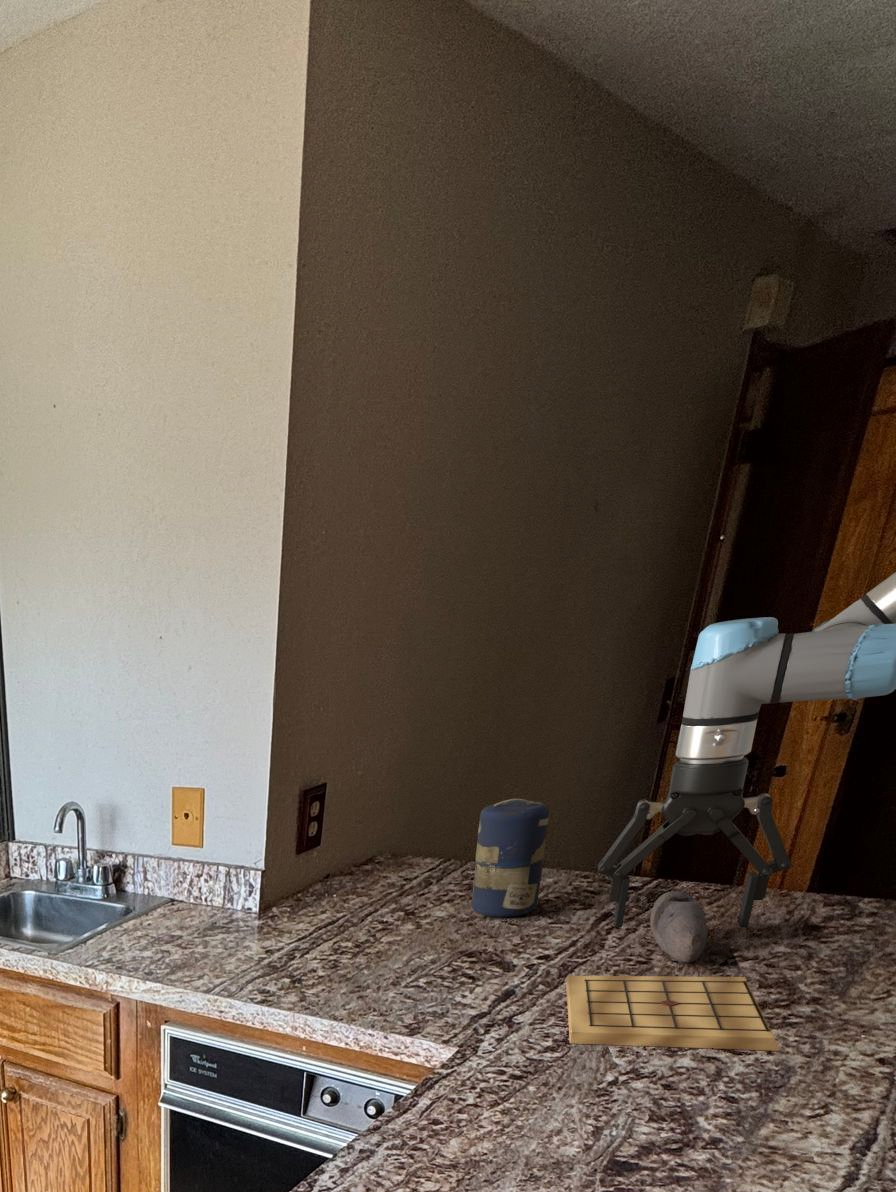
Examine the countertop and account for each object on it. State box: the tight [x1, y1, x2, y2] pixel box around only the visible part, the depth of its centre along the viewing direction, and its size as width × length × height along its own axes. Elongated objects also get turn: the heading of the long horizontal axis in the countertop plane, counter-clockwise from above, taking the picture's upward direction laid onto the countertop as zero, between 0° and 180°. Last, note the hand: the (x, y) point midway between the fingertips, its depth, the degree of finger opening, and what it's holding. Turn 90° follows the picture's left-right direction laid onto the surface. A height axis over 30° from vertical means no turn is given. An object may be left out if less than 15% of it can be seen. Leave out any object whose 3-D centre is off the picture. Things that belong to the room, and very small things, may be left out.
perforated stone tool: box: [649, 890, 708, 964], centre depth 133 cm, size 15×5×7 cm, turn 156°
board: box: [565, 975, 782, 1052], centre depth 117 cm, size 20×20×2 cm
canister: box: [471, 797, 550, 918], centre depth 157 cm, size 10×10×18 cm
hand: (678, 924), depth 133 cm, fingers open, 13 cm apart
